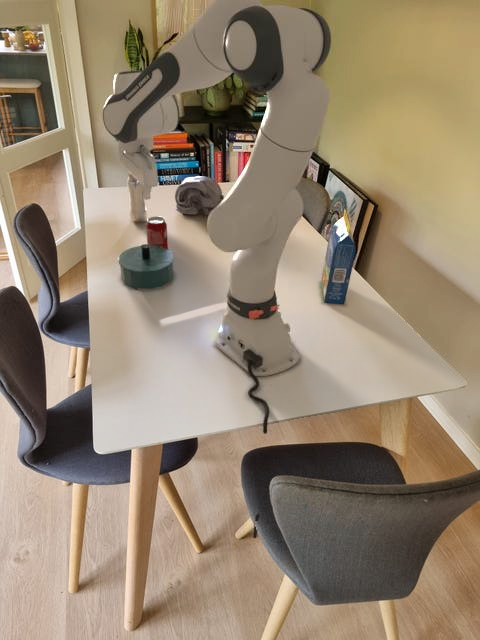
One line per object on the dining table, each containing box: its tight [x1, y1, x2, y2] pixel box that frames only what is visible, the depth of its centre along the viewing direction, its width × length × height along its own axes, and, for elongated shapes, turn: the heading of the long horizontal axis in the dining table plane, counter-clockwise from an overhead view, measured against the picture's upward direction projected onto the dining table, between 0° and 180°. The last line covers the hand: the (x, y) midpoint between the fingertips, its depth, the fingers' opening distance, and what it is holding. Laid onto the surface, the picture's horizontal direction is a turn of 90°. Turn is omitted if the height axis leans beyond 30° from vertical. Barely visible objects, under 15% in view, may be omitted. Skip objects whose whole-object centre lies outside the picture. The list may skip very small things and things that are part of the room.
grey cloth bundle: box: [174, 175, 225, 216], centre depth 179 cm, size 20×18×15 cm
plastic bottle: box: [126, 177, 148, 222], centre depth 168 cm, size 6×7×20 cm
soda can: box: [145, 215, 169, 250], centre depth 150 cm, size 7×7×12 cm
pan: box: [119, 262, 174, 291], centre depth 138 cm, size 16×16×6 cm
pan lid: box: [117, 243, 175, 273], centre depth 135 cm, size 17×17×5 cm
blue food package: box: [320, 209, 357, 306], centre depth 130 cm, size 6×12×25 cm, turn 176°
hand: (140, 192), depth 124 cm, fingers open, 8 cm apart
